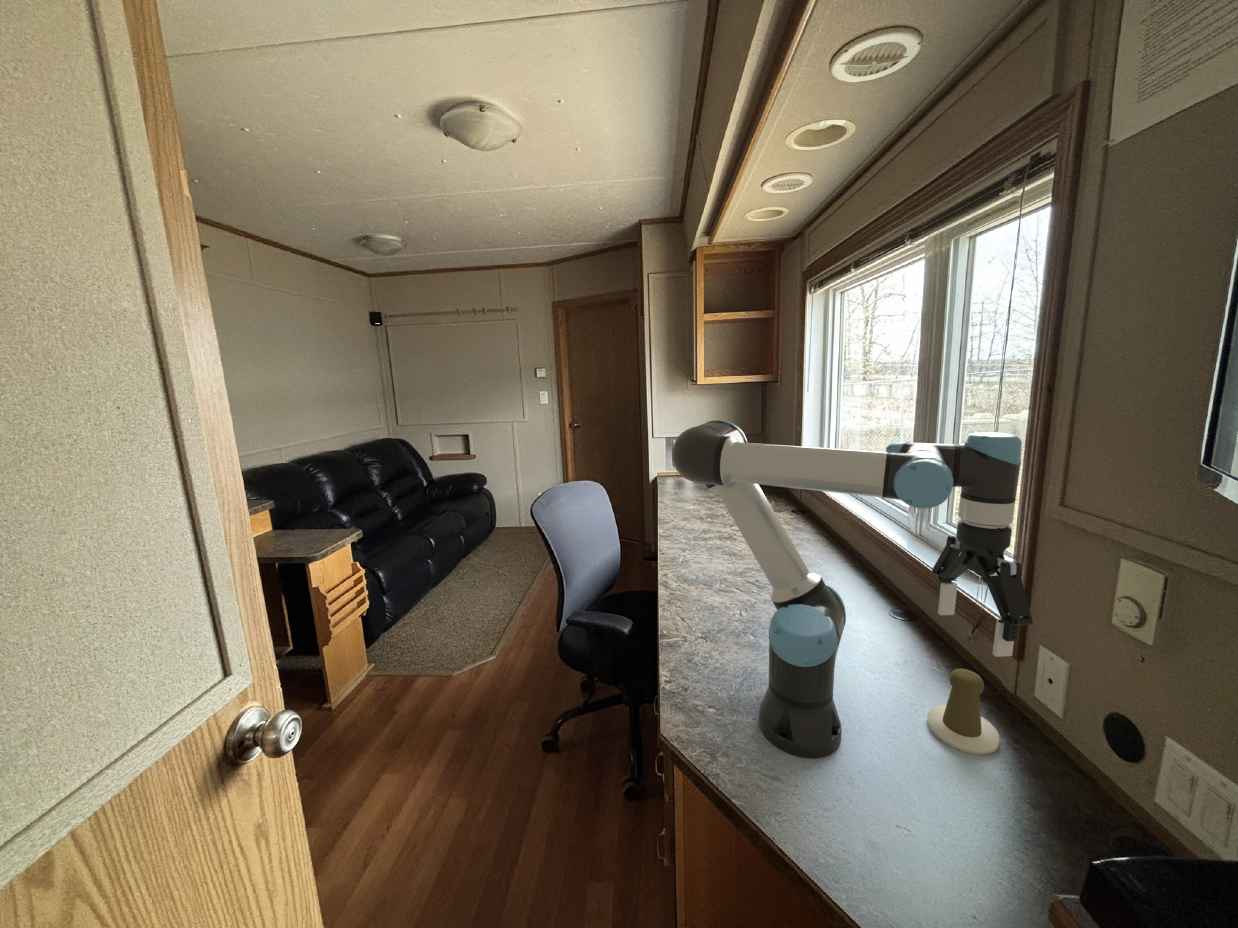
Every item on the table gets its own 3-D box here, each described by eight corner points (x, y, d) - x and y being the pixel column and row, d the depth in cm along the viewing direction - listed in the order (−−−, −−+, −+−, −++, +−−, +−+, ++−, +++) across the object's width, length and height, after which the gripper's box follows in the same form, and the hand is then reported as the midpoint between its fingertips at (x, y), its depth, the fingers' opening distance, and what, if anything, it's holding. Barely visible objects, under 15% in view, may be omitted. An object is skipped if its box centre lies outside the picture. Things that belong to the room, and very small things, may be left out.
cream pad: (953, 756, 84) (954, 749, 84) (914, 712, 95) (915, 706, 94) (1014, 753, 84) (1015, 746, 84) (968, 710, 95) (969, 703, 95)
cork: (944, 709, 93) (949, 659, 91) (982, 722, 89) (988, 671, 87) (940, 727, 89) (945, 675, 87) (980, 742, 85) (987, 688, 83)
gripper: (1075, 547, 69) (1055, 675, 73) (954, 501, 94) (945, 599, 98) (1024, 549, 69) (1007, 677, 73) (917, 503, 94) (909, 601, 98)
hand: (971, 633), depth 86 cm, fingers open, 13 cm apart
